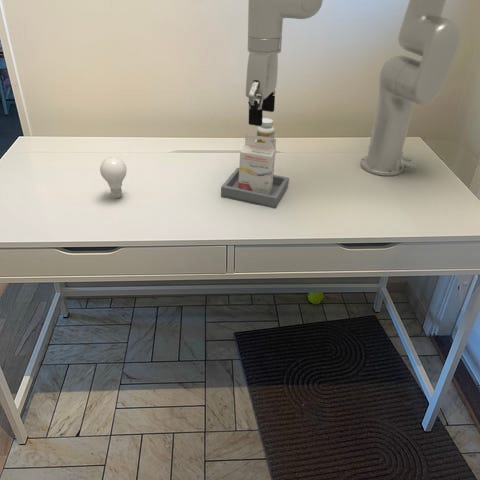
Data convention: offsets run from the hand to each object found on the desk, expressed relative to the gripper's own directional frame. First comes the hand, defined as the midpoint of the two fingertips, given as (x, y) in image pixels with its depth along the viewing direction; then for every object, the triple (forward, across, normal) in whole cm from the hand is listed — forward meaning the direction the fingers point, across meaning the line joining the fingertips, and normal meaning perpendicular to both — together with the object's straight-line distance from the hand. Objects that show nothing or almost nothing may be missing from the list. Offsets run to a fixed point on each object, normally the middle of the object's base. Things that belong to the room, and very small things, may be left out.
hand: (261, 117), depth 115 cm
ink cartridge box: (+20, +1, -1) cm, 20 cm away
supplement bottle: (+21, -26, -7) cm, 34 cm away
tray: (+21, +1, -1) cm, 21 cm away
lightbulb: (+20, +18, -33) cm, 42 cm away
